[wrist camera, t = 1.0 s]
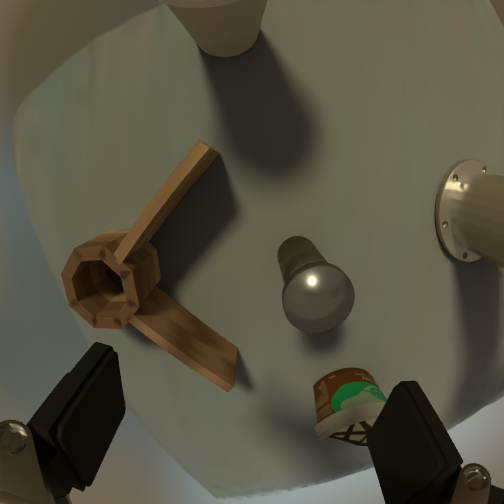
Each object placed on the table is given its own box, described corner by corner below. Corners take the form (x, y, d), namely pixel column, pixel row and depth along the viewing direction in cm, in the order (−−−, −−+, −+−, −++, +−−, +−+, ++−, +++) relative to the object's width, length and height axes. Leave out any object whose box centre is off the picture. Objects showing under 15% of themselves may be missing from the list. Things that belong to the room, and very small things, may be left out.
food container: (398, 374, 35) (427, 422, 25) (371, 404, 36) (392, 454, 27) (332, 347, 33) (354, 404, 24) (303, 382, 35) (316, 441, 25)
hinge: (331, 253, 30) (352, 276, 23) (213, 368, 34) (206, 408, 27) (186, 125, 26) (166, 113, 20) (85, 267, 30) (53, 290, 24)
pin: (330, 253, 30) (368, 296, 19) (297, 287, 31) (318, 344, 20) (296, 221, 29) (320, 251, 18) (262, 257, 30) (267, 305, 20)
